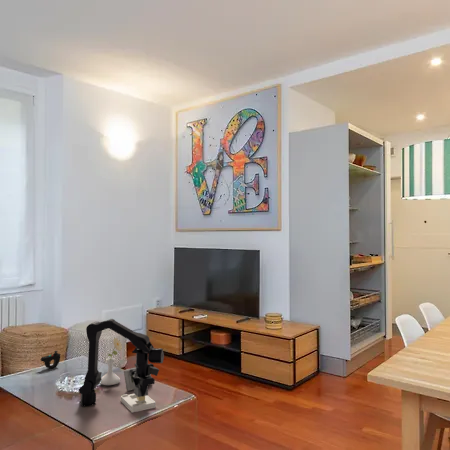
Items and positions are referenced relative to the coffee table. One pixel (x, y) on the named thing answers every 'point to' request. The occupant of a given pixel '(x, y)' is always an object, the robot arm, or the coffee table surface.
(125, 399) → the socket
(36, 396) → the coffee table surface
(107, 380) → the flower in vase
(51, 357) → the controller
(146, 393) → the plug
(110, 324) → the robot arm
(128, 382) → the digital clock
